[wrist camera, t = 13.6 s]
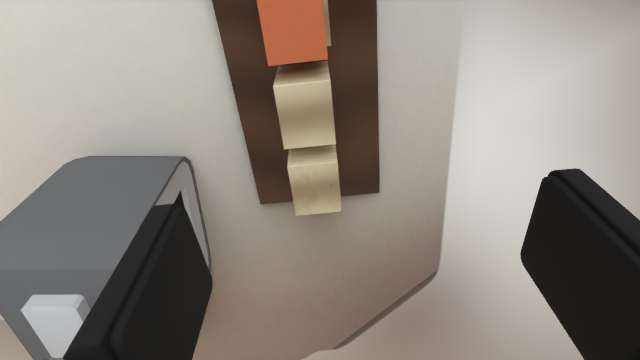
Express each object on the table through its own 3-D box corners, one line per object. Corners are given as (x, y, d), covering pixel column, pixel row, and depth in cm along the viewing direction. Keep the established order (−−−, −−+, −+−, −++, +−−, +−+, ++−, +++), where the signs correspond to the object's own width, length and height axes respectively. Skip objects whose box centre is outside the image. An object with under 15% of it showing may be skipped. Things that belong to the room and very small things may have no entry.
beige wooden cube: (289, 138, 33) (286, 166, 29) (333, 133, 33) (337, 161, 28) (297, 184, 36) (295, 216, 31) (338, 180, 35) (342, 211, 31)
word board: (202, -54, 26) (198, -54, 25) (373, -75, 25) (375, -75, 24) (261, 198, 38) (260, 205, 37) (377, 187, 37) (379, 193, 36)
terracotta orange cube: (262, -25, 26) (252, -19, 22) (318, -32, 26) (320, -27, 21) (274, 48, 28) (268, 66, 24) (325, 42, 28) (328, 59, 24)
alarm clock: (213, 268, 43) (170, 411, 30) (115, 269, 43) (29, 413, 29) (188, 145, 34) (112, 271, 21) (64, 144, 34) (-91, 272, 21)
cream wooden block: (277, 65, 29) (272, 86, 25) (327, 60, 29) (330, 79, 25) (287, 122, 32) (283, 149, 28) (332, 118, 32) (336, 144, 28)
